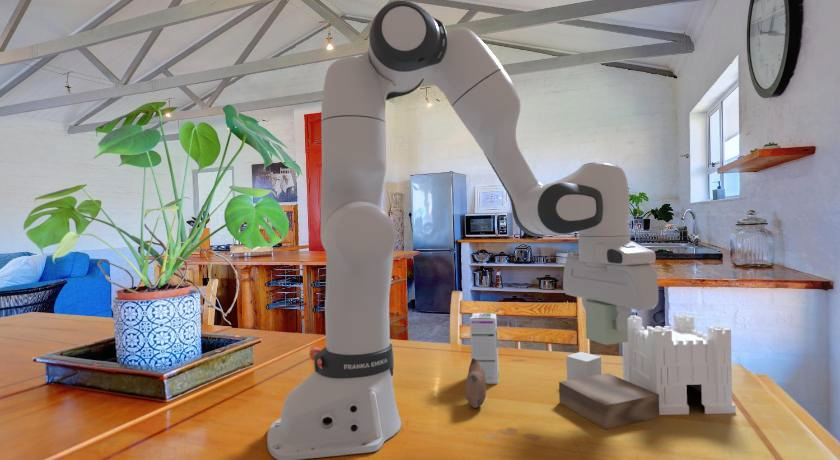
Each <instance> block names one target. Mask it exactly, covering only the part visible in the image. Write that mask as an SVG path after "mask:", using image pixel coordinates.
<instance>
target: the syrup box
mask: <svg viewBox="0 0 840 460" xmlns="http://www.w3.org/2000/svg"><path fill="white" fill-rule="evenodd" d="M497 319H498V318H497V313H494V312H476V313H475V312H473V313H472V314H471V316H470V317H469V336H470V337H469V338H470V340H469V341H470V359H471V360H470V362H471V361H472V359H473V358H474V359H476V360H477V361H478V362H479V363H480V365H481V366H482V368H483V370H484V374H485V380H486V385H488V384H489V385H490V384H491V385H498V383H499V375H500V372H499V371H500V370H499V367H500V366H499V346H498V327H497V326H498V324H497Z"/></svg>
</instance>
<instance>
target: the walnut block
mask: <svg viewBox="0 0 840 460" xmlns="http://www.w3.org/2000/svg"><path fill="white" fill-rule="evenodd" d="M558 387H559V388H558V389H559V390H558V391H559V392H558V393H559V396H558V397H559V404H561V405H563V406H565V407H566V408H568V409H570V410H572V411H574V412H575V413H576V414H579V415H580V416H582V417H583V418H585V419H587V420H589V421H590V422H591V423H594V424H595V425H597V426H599V427H600V428H602V429H604V430H609V429H613V428H618V427H622V426H626V425H631V424H635V423H639V422H643V421H647V420H648V421H649V420H652V419H656V418H657V419H658V418H660V415H659V394H656V393H654V392H652V391H649V390H647V389H644V388H642V387H640V386H637V385H635V384H633V383H630V382H628V381H625V380H623V378H620V377H618V376H616V375H613V374H611V373H609V372H608V373H603V374H602V373H601V375H596V376H590V377H585V378H579V379H573V380H568V381H567V380H562V381H559V382H558Z"/></svg>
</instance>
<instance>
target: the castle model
mask: <svg viewBox="0 0 840 460" xmlns="http://www.w3.org/2000/svg"><path fill="white" fill-rule="evenodd" d="M627 324H628V342H623V343H621V345H622V348H621V349H622V379H623V380H625V381H628V382H630V383H633V384H635V385H637V386H640V387H642V388H644V389H647V390H649V391H652V392H654V393H656V394H659V416H661V415H662V416H663V415H664V416H665V415H669V416H670V415H690V406H689V404H688V394H687V389H688V388H687V386H690V385H691V386H690V387H692V388H693V387H694V388H693V389H695V390H697V391H699V393H701V405H702V406H704V414H706V415H709V414H711V415H713V414H716V415H717V414H721V415H722V414H737V413H736V412H737V409H736V407H737V406H736V405H735V404H734V403H733V379H732V378H733V374H732V373H733V369H732V368H733V367H732V363H733V362H732V330H731V329H730V328H727V327H725V326H720V325H715V326H713V325H712V326H707V328H706V329H707V333H704V332H702V331H698V330H696V329H695V317H694V316H692V315H690V314H685V313H684V314H683V313H682V314H676V313H675V314H673V325H672V329H671V326H670V325H663V326H661V325H655V327H653V326H651V325H650V326H647V325H646V329H645V326H643V318H642V317H639V316H638V315H636V314H634V315H631V314H630V315H629V317H628V319H627Z"/></svg>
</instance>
